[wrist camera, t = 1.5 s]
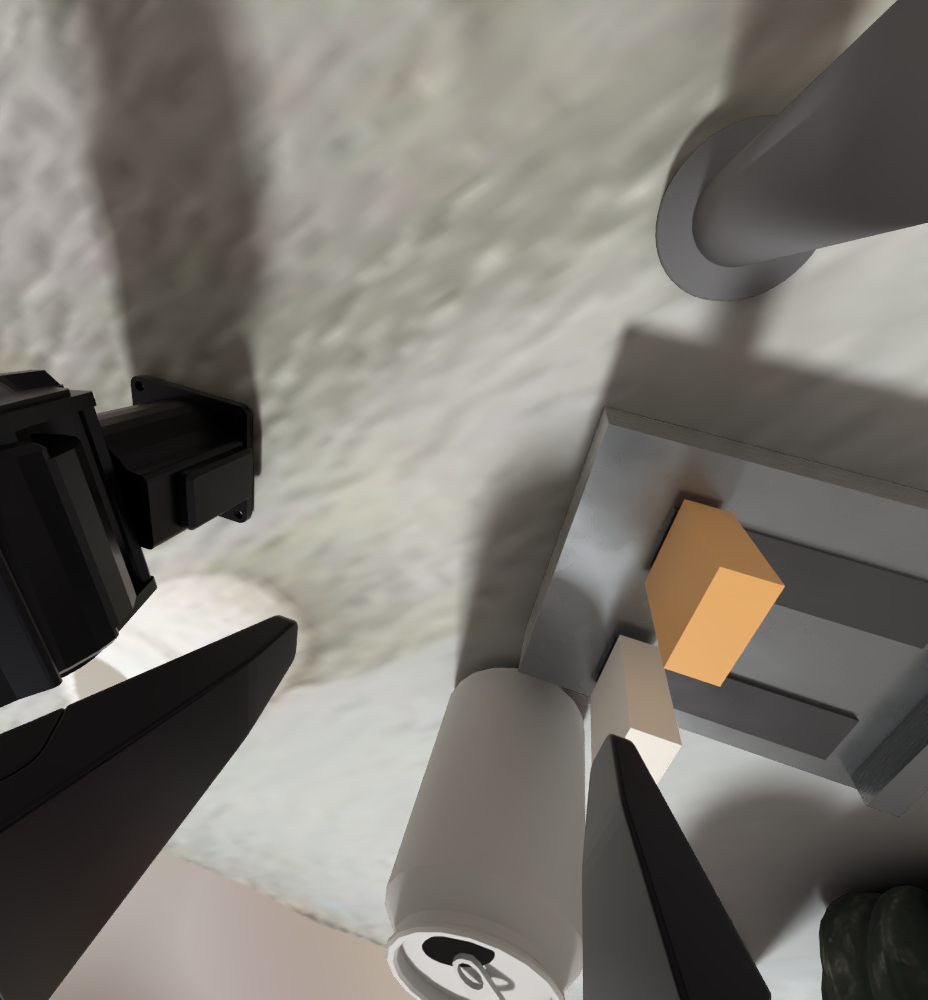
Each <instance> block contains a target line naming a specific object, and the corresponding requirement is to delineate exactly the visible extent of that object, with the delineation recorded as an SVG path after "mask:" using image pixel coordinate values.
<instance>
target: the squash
mask: <svg viewBox="0 0 928 1000" xmlns="http://www.w3.org/2000/svg"><path fill="white" fill-rule="evenodd" d="M819 941H820V957H821V963H822V969H823V971H822V985H821V991H822V1000H928V893H927V892H925V891H924V890H921V889H919V888H917V887H914V886H906V885H904V886H898V887H893V888H891V889H889V890H888V891H886V892H885V893H884V894H879V893H874V892H865V893H854V894H849V895H844V896H841V897H840V898H838V899H836V900H834V901H833V902H832V903H831V904H830V905H829V906H828V908H827V909H826V912H825V914H824V916H823V918H822V919H821V922H820V930H819Z"/></svg>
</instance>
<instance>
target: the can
mask: <svg viewBox="0 0 928 1000" xmlns="http://www.w3.org/2000/svg"><path fill="white" fill-rule="evenodd" d="M518 669H519V668H491V669H487V670H482V671H478V672H475V673H473V674H471V675H470V676H468V677H467V678H465V679H464V680H462V681H460V682H459V684H458V685H457V687H456V688H455V690H454V691H453V693H452V694H451V697H450V700H449V703H448V706H447V709H446V712H445V715H444V718H443V721H442V724H441V726H440V729H439V732H438V735H437V738H436V741H435V744H434V747H433V750H432V753H431V756H430V759H429V762H428V765H427V768H426V771H425V774H424V777H423V780H422V783H421V786H420V789H419V792H418V795H417V798H416V801H415V804H414V807H413V810H412V813H411V816H410V819H409V822H408V825H407V828H406V831H405V834H404V837H403V840H402V843H401V846H400V849H399V852H398V855H397V858H396V861H395V864H394V867H393V870H392V873H391V876H390V879H389V882H388V885H387V889H386V898H385V906H386V909H387V912H388V916H389V919H390V922H391V926H392V929H393V932H394V934H393V935H392V936H391V937H390V938H389V939H388V942H387V950H386V958H387V961H388V963H389V966H390V968H391V970H392V973H393V976H394V977H395V978H396V979H397V980H398V981H399V983H400V984H401V985H402V986H403V987H404V989H405V990H406V991H407V992H408V993H410V994H411V995H412V996H414V997H415V998H416V999H417V1000H565V997H564V992H565V991H566V990H567V989H568V987H569V986H570V985H571V984H572V983H573V982H574V981H575V980H576V979H577V977H578V976H579V974H580V972H581V970H582V968H583V938H582V861H583V848H584V837H585V734H584V724H583V717H582V715H581V713H580V711H579V709H578V707H577V706H576V704H575V702H574V700H573V699H572V698H571V697H570V696H569V695H568V694H566V693H565V692H564V691H563V690H562V689H561V688H560V687H559V686H557V685H555V684H552V683H549V682H546V681H543V680H540V679H537V678H534V677H531V676H529V675H526V674H523V673H520V672H518Z"/></svg>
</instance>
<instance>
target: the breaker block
mask: <svg viewBox="0 0 928 1000" xmlns="http://www.w3.org/2000/svg"><path fill="white" fill-rule="evenodd" d="M684 499H686V500H689V501H693V502H696V503H700V504H704V505H707V506H711V507H714V508H718V509H721V510H725V511H728V512H732V513H733V515H734V516H735V517H736V519H737V520H738V522H739V523H740V524H741V526H742V527H743V528H744V530H745V531H746V533H747V534H748V535H749V537H750V538H751V540H752V541H753V542H754V544H755V545H756V546H757V548H758V549H759V551H760V552H761V553H762V555H763V556H764V558H765V559H766V560H767V562H768V563H769V565H770V566H771V567H772V569H773V570H774V571H775V573H776V574H777V576H778V577H779V578H780V580H781V581H782V583H783V584H784V585H785V587H784V589H783V590H782V592H781V593H780V595H779V596H778V598H777V600H776V601H775V603H774V604H773V606H772V607H771V609H770V610H769V612H768V613H767V615H766V617H765V618H764V620H763V621H762V623H761V624H760V626H759V627H758V629H757V630H756V632H755V634H754V635H753V637H752V638H751V640H750V641H749V643H748V644H747V646H746V647H745V649H744V651H743V652H742V654H741V655H740V657H739V658H738V660H737V661H736V663H735V664H734V666H733V668H732V669H731V671H730V672H729V674H728V675H727V677H726V678H725V680H724V682H723V683H722V685H721V686H720V687H719V686H716V685H713V684H710V683H707V682H704V681H701V680H698V679H695V678H692V677H689V676H686V675H683V674H680V673H677V672H674V671H671V670H668V669H665V673H666V677H667V682H668V686H669V691H670V695H671V699H672V704H673V708H674V713H675V717H676V721H677V726H678V727H679V728H682V729H685V730H688V731H690V732H693V733H696V734H699V735H702V736H705V737H708V738H711V739H714V740H717V741H719V742H722V743H725V744H728V745H731V746H734V747H737V748H740V749H743V750H745V751H748V752H751V753H754V754H757V755H760V756H763V757H766V758H769V759H771V760H774V761H777V762H780V763H783V764H786V765H789V766H792V767H795V768H797V769H800V770H803V771H806V772H809V773H812V774H815V775H818V776H821V777H824V778H826V779H829V780H832V781H835V782H838V783H841V784H844V785H847V786H850V787H852V788H855V789H857V790H858V792H859V793H860V795H861V797H862V799H863V801H864V802H865V804H866V806H869V807H872V808H875V809H878V810H881V811H884V812H887V813H889V814H892V815H895V816H898V817H899V816H900V815H901V814H903V813H904V812H905V811H906V810H907V809H908V808H909V807H910V806H911V805H912V804H913V803H914V802H915V801H917V800H918V799H919V798H920V797H921V796H922V795H923V794H924V793H925V792H926V791H927V790H928V492H926V491H922V490H919V489H915V488H911V487H907V486H903V485H900V484H896V483H892V482H888V481H885V480H881V479H877V478H873V477H869V476H866V475H862V474H858V473H854V472H851V471H847V470H843V469H839V468H836V467H832V466H828V465H824V464H820V463H817V462H813V461H809V460H805V459H802V458H798V457H794V456H790V455H786V454H783V453H779V452H775V451H771V450H768V449H764V448H760V447H756V446H753V445H749V444H745V443H741V442H737V441H734V440H730V439H726V438H722V437H719V436H715V435H711V434H707V433H703V432H700V431H696V430H692V429H688V428H685V427H681V426H677V425H673V424H670V423H666V422H662V421H658V420H654V419H651V418H647V417H643V416H639V415H636V414H632V413H628V412H624V411H620V410H617V409H613V408H609V407H604V410H603V412H602V415H601V418H600V421H599V424H598V427H597V429H596V432H595V435H594V438H593V441H592V443H591V446H590V449H589V452H588V455H587V458H586V460H585V463H584V466H583V469H582V472H581V474H580V477H579V480H578V483H577V486H576V489H575V491H574V494H573V497H572V500H571V503H570V505H569V508H568V511H567V514H566V517H565V520H564V522H563V525H562V528H561V531H560V534H559V536H558V539H557V542H556V545H555V548H554V551H553V553H552V556H551V559H550V562H549V565H548V567H547V570H546V573H545V576H544V579H543V582H542V584H541V587H540V590H539V593H538V596H537V598H536V601H535V604H534V607H533V610H532V613H531V615H530V618H529V621H528V624H527V627H526V629H525V634H524V640H523V646H522V652H521V658H520V663H519V669H518V672H520V673H523V674H526V675H529V676H531V677H534V678H537V679H540V680H543V681H546V682H549V683H552V684H555V685H557V686H560V687H563V688H566V689H569V690H572V691H575V692H578V693H581V694H583V695H586V696H589V697H590V696H591V694H592V692H593V690H594V688H595V686H596V683H597V681H598V679H599V677H600V675H601V673H602V671H603V669H604V667H605V665H606V663H607V660H608V658H609V656H610V654H611V652H612V650H613V648H614V646H615V644H616V642H617V639H618V637H619V635H623V636H626V637H629V638H632V639H635V640H638V641H641V642H644V643H647V644H650V645H653V646H657V647H659V645H658V641H657V636H656V632H655V628H654V623H653V619H652V614H651V610H650V605H649V601H648V596H647V592H646V588H645V581H646V579H647V576H648V574H649V572H650V570H651V568H652V566H653V564H654V562H655V560H656V558H657V556H658V553H659V551H660V549H661V547H662V545H663V543H664V541H665V539H666V537H667V535H668V532H669V530H670V528H671V526H672V524H673V522H674V520H675V518H676V516H677V514H678V511H679V509H680V507H681V505H682V503H683V501H684Z"/></svg>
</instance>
